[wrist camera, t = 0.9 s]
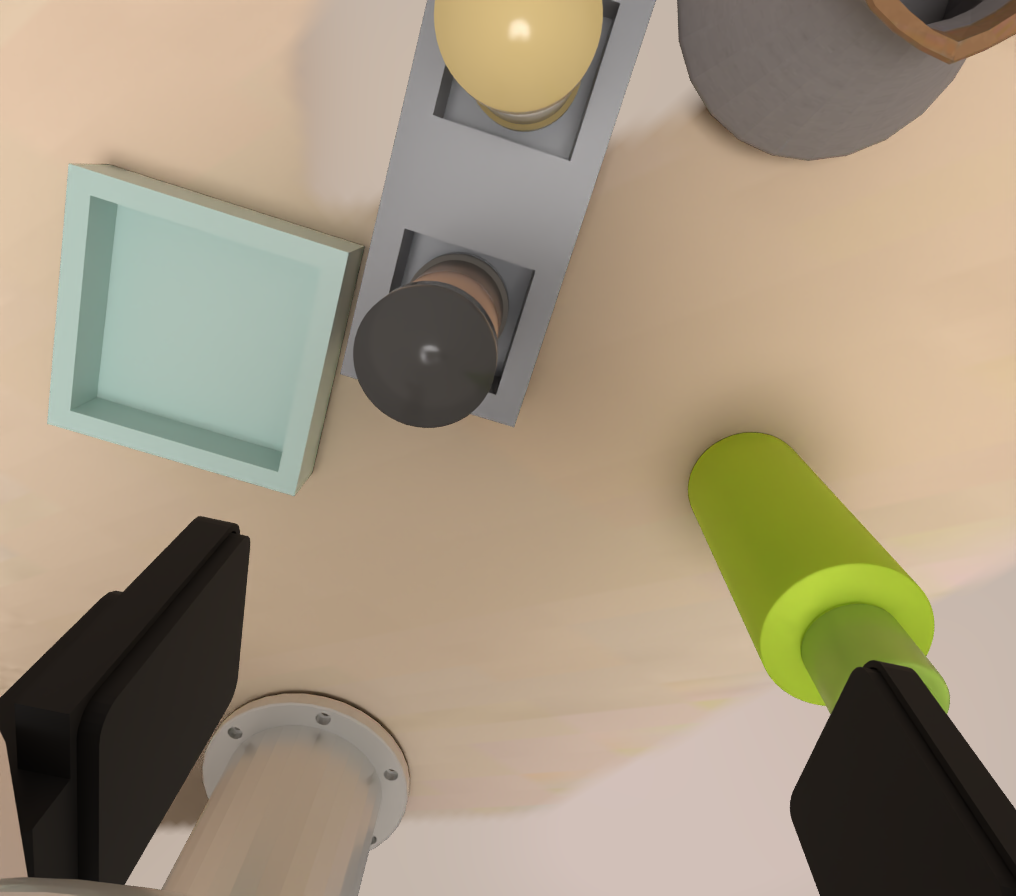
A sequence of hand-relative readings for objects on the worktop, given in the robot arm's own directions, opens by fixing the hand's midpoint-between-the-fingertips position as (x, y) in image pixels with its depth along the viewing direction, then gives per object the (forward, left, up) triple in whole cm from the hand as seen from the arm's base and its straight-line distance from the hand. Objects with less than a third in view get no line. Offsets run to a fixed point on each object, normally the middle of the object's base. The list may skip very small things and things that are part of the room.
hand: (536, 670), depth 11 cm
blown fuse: (0, +4, -25) cm, 25 cm away
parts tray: (-5, +15, -26) cm, 30 cm away
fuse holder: (+5, +4, -26) cm, 26 cm away
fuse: (+10, +4, -25) cm, 27 cm away
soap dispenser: (-5, -13, -26) cm, 29 cm away
